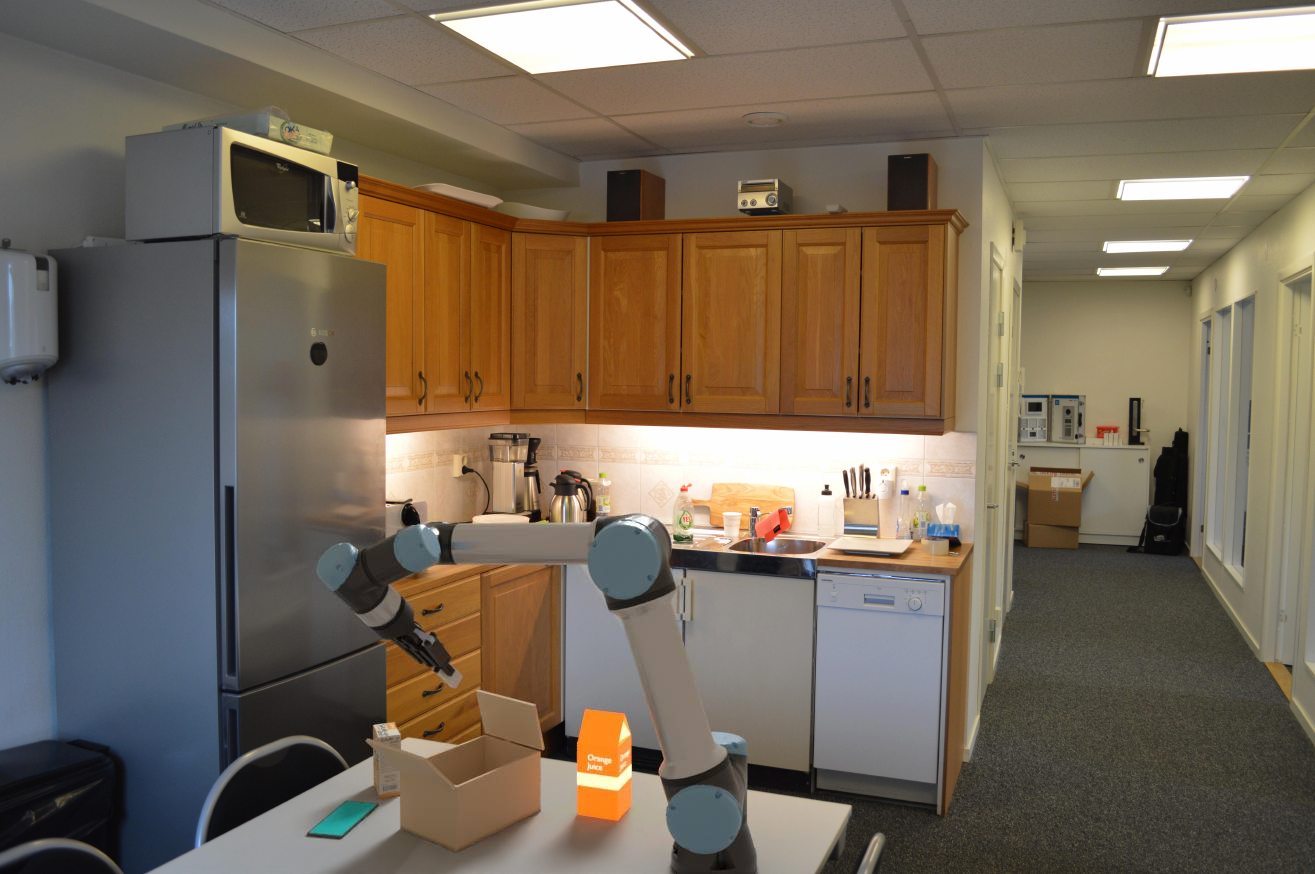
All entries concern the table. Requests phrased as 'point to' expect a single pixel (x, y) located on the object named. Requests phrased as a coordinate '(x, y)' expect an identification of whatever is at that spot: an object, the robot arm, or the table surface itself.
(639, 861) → the table surface
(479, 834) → the carton
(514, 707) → the right flap
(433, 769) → the left flap
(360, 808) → the smartphone
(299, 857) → the table surface
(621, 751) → the orange juice
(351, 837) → the table surface
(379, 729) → the supplement box
